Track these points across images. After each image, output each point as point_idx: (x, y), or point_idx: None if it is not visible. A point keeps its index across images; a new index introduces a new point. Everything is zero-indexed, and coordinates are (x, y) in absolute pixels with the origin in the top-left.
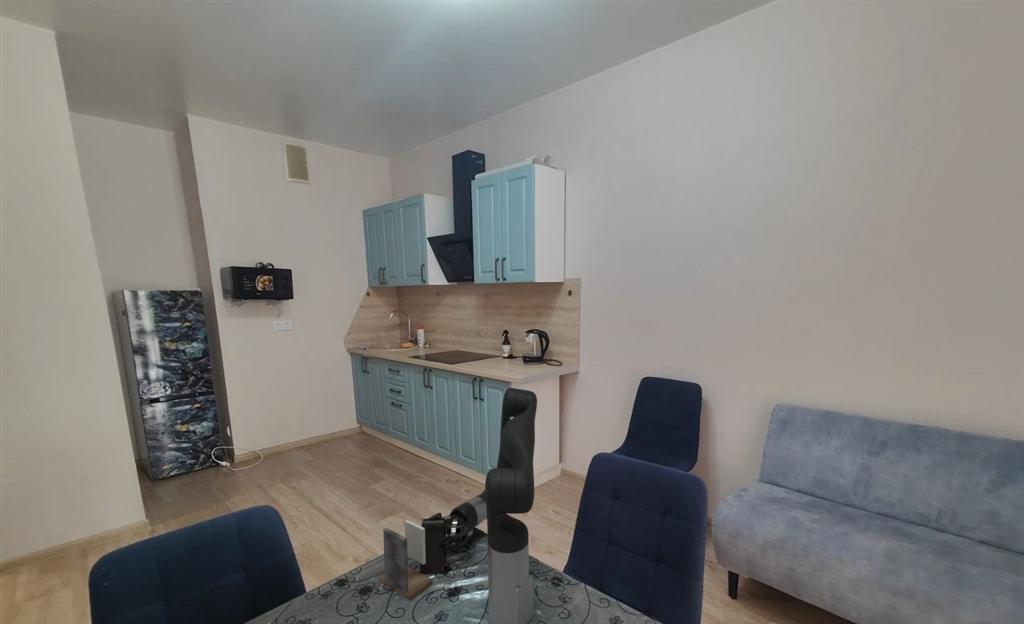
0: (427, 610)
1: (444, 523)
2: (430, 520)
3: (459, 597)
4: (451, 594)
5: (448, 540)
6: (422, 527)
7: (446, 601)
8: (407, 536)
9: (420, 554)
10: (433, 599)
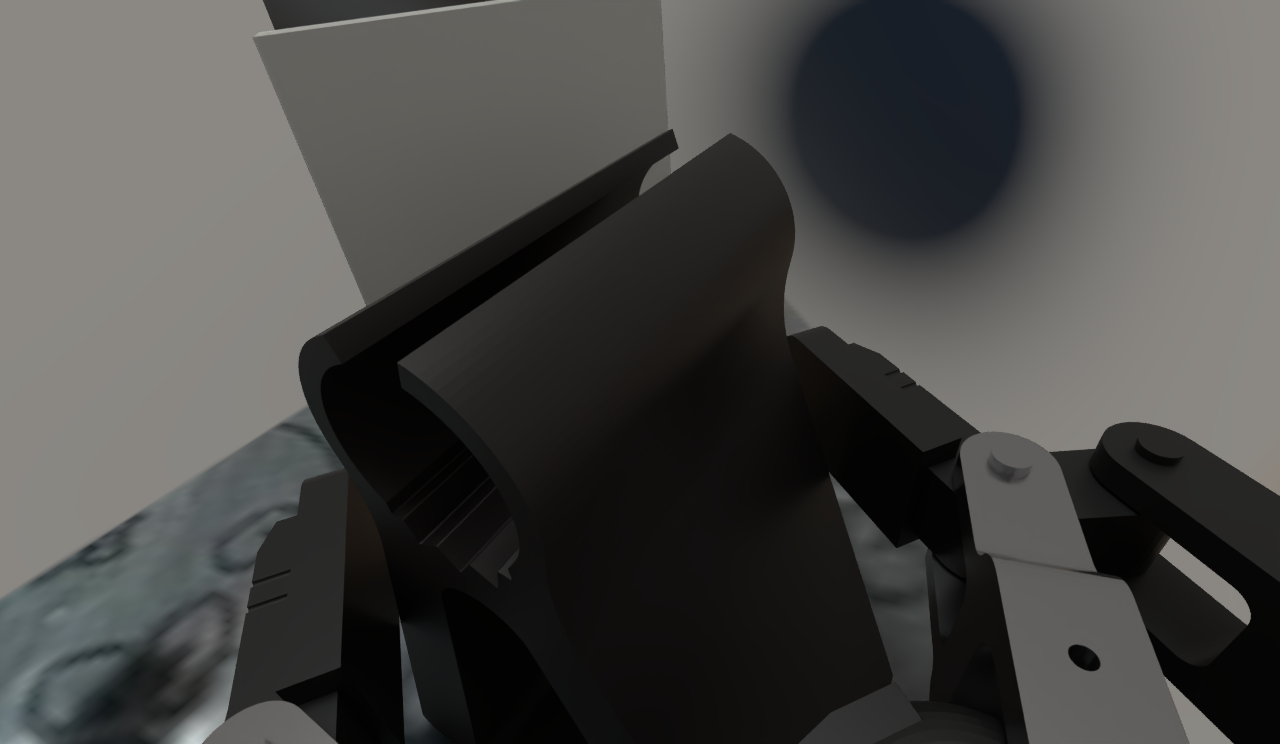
0: (219, 489)
1: (526, 535)
2: (705, 252)
3: (19, 736)
4: (130, 683)
5: (252, 630)
6: (305, 29)
7: (129, 615)
8: None
9: None
10: (250, 543)
